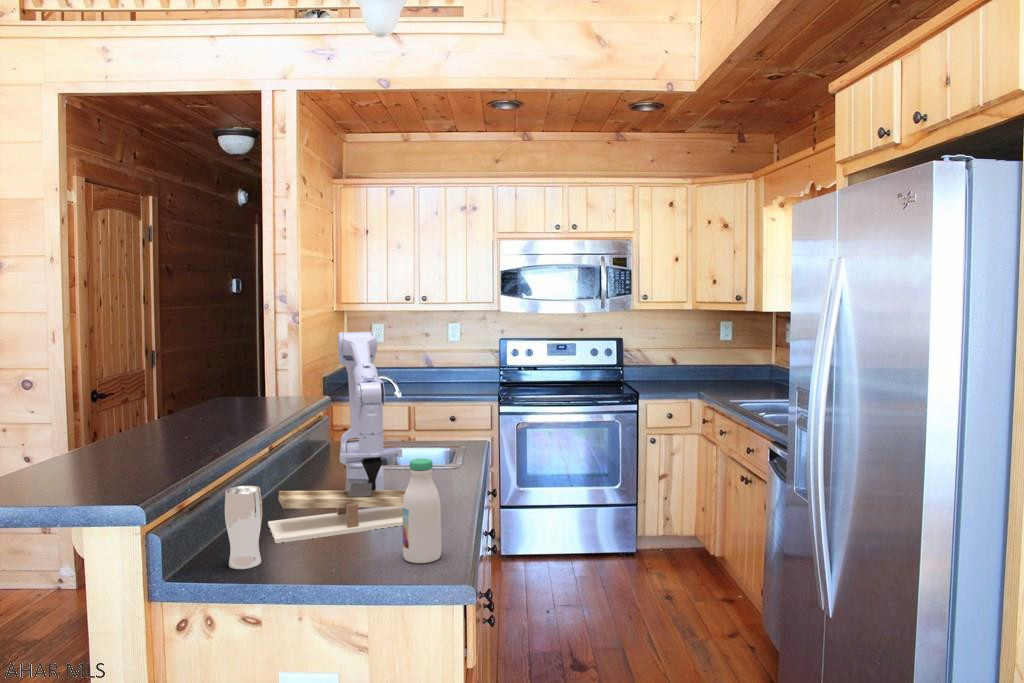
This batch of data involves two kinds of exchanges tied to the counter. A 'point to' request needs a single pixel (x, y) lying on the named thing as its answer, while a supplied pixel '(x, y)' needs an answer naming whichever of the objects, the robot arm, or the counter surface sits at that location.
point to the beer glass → (243, 525)
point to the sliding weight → (358, 488)
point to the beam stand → (336, 523)
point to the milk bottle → (421, 515)
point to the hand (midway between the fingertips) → (372, 489)
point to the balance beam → (339, 499)
